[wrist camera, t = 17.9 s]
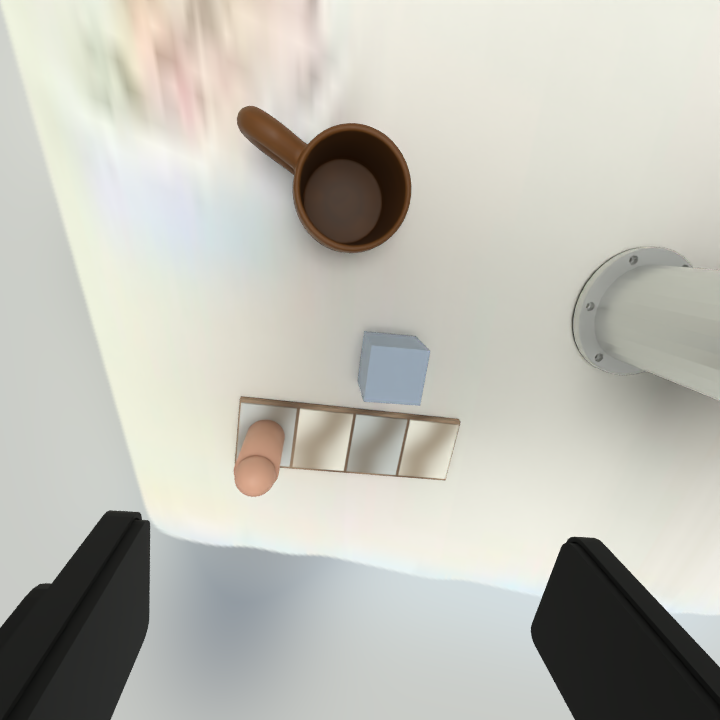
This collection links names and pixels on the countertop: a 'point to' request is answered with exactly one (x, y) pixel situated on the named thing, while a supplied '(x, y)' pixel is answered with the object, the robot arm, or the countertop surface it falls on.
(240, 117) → the mug
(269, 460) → the pawn
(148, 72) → the countertop surface
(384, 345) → the light blue cube
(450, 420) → the track
